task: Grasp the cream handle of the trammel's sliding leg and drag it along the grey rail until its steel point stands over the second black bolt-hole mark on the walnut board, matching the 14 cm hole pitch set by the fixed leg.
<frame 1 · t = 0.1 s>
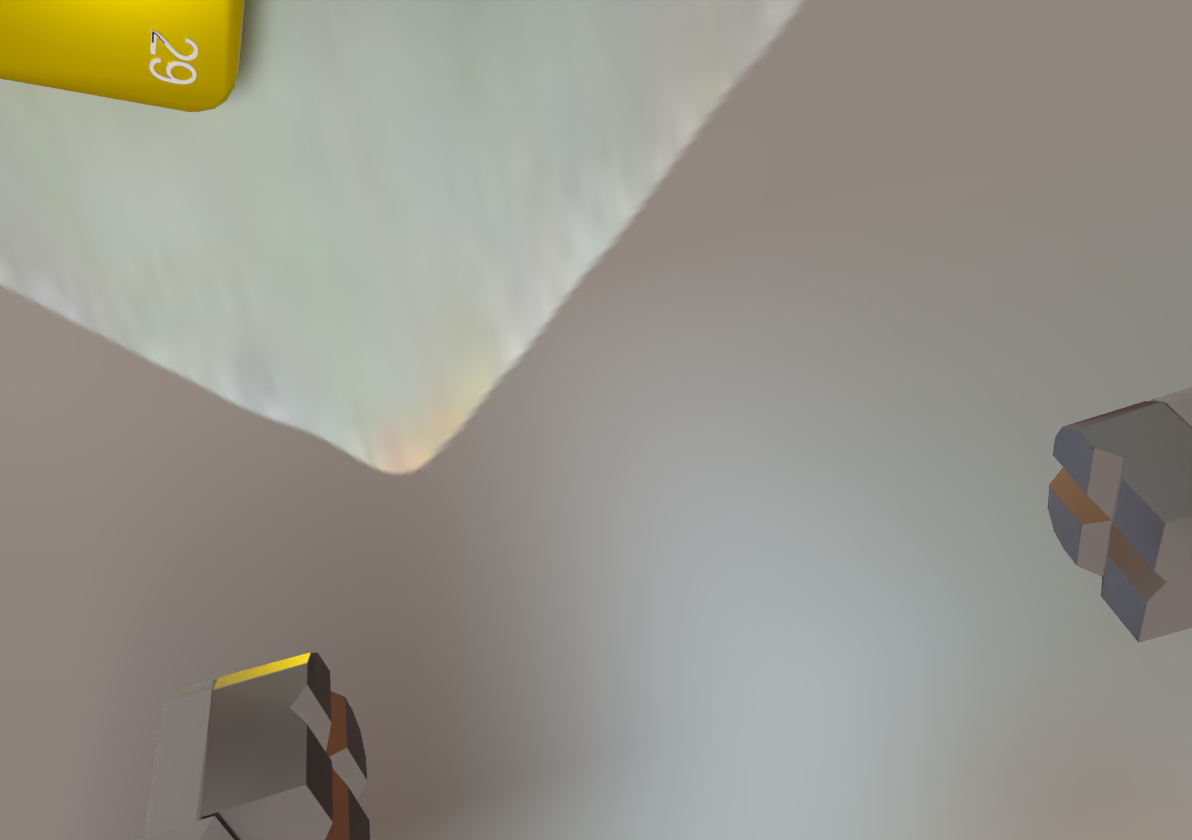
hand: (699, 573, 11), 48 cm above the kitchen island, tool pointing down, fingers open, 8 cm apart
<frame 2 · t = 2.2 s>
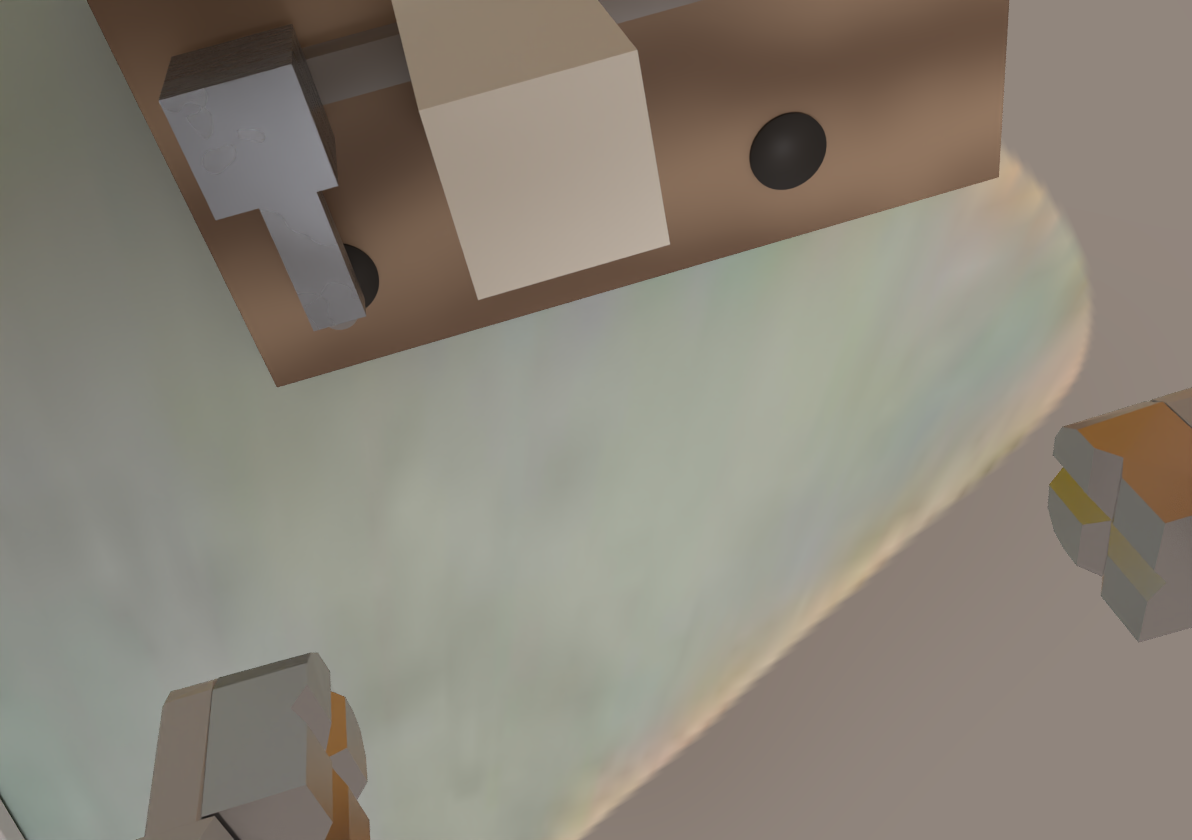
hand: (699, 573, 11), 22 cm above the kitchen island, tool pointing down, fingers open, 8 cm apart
fixed leg: (259, 66, 28), resting on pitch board
sliding leg: (533, 174, 25), point 7 cm above the kitchen island, slide at 0.0 cm
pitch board: (599, 83, 31), on the kitchen island
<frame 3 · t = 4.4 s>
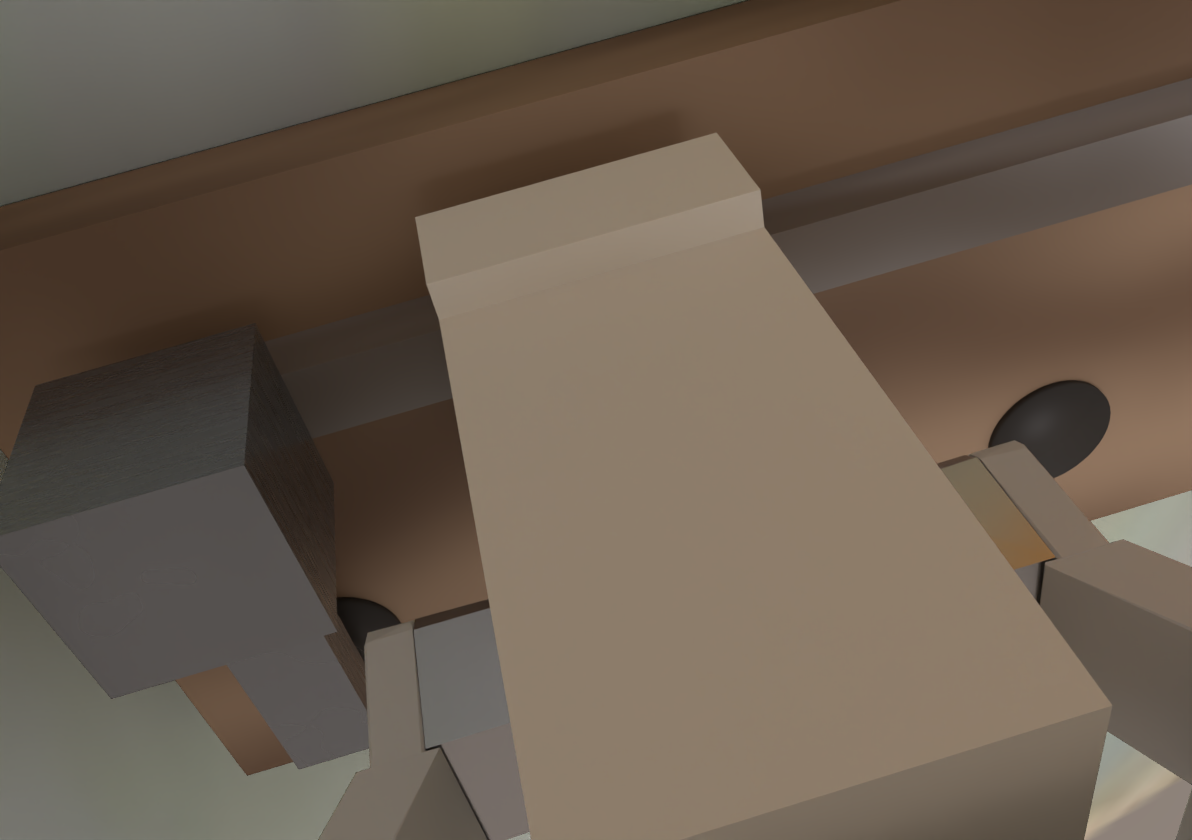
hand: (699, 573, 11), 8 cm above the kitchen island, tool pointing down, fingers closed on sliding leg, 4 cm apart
fixed leg: (208, 341, 17), resting on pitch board
sliding leg: (700, 628, 13), point 7 cm above the kitchen island, slide at 0.0 cm, touching gripper
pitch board: (758, 336, 19), on the kitchen island
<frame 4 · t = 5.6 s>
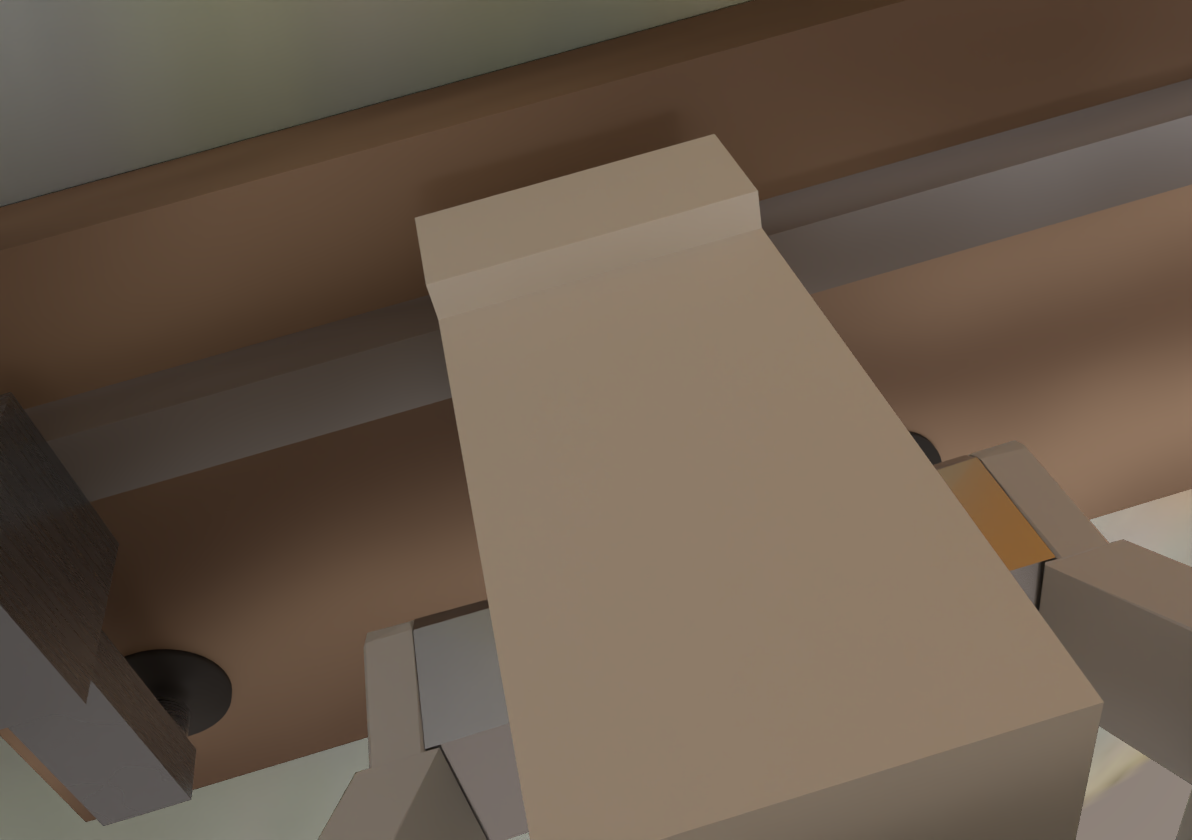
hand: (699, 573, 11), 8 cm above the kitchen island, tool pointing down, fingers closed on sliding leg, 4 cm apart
fixed leg: (4, 399, 17), resting on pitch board
sliding leg: (698, 626, 13), point 7 cm above the kitchen island, slide at 3.4 cm, touching gripper
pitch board: (581, 386, 19), on the kitchen island
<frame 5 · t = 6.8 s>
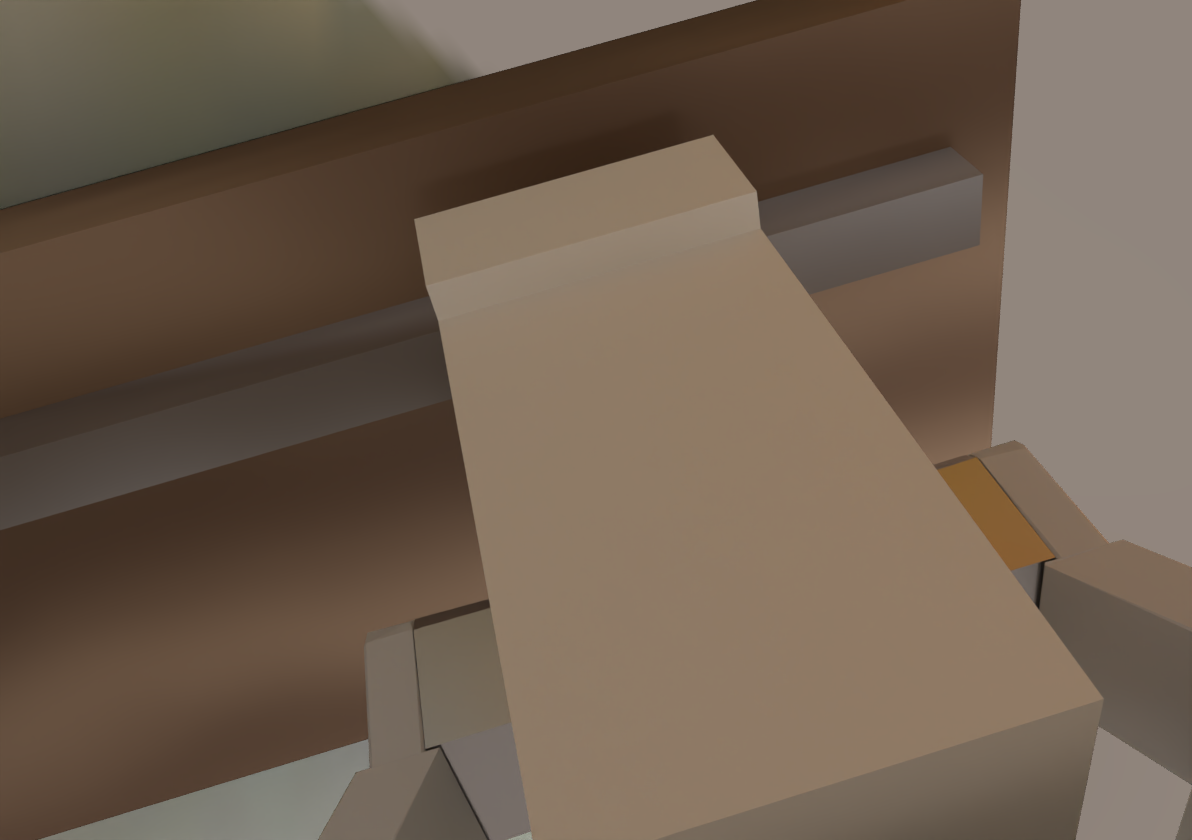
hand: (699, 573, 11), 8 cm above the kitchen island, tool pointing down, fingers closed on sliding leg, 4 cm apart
sliding leg: (698, 626, 13), point 7 cm above the kitchen island, slide at 8.0 cm, touching gripper
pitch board: (330, 461, 19), on the kitchen island
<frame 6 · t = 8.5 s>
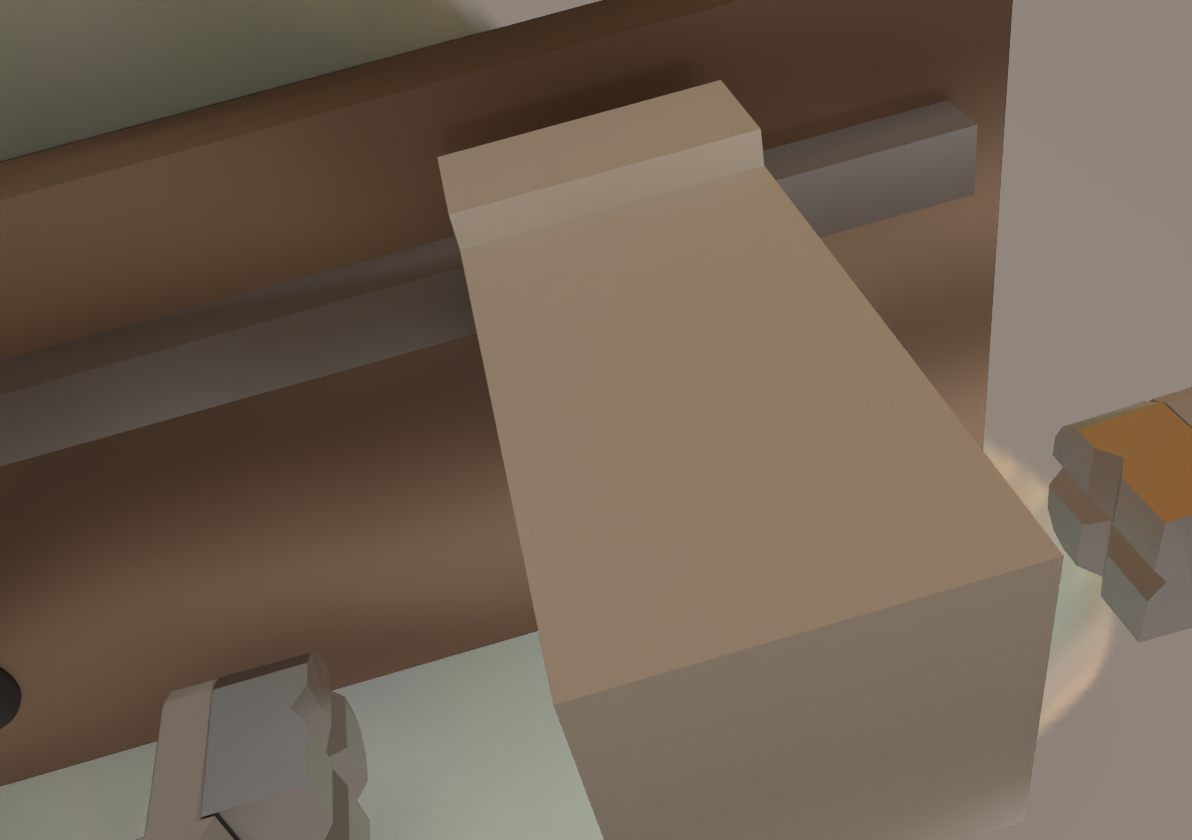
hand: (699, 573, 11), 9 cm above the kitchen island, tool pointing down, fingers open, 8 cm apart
sliding leg: (701, 544, 14), point 7 cm above the kitchen island, slide at 8.1 cm
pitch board: (350, 403, 20), on the kitchen island
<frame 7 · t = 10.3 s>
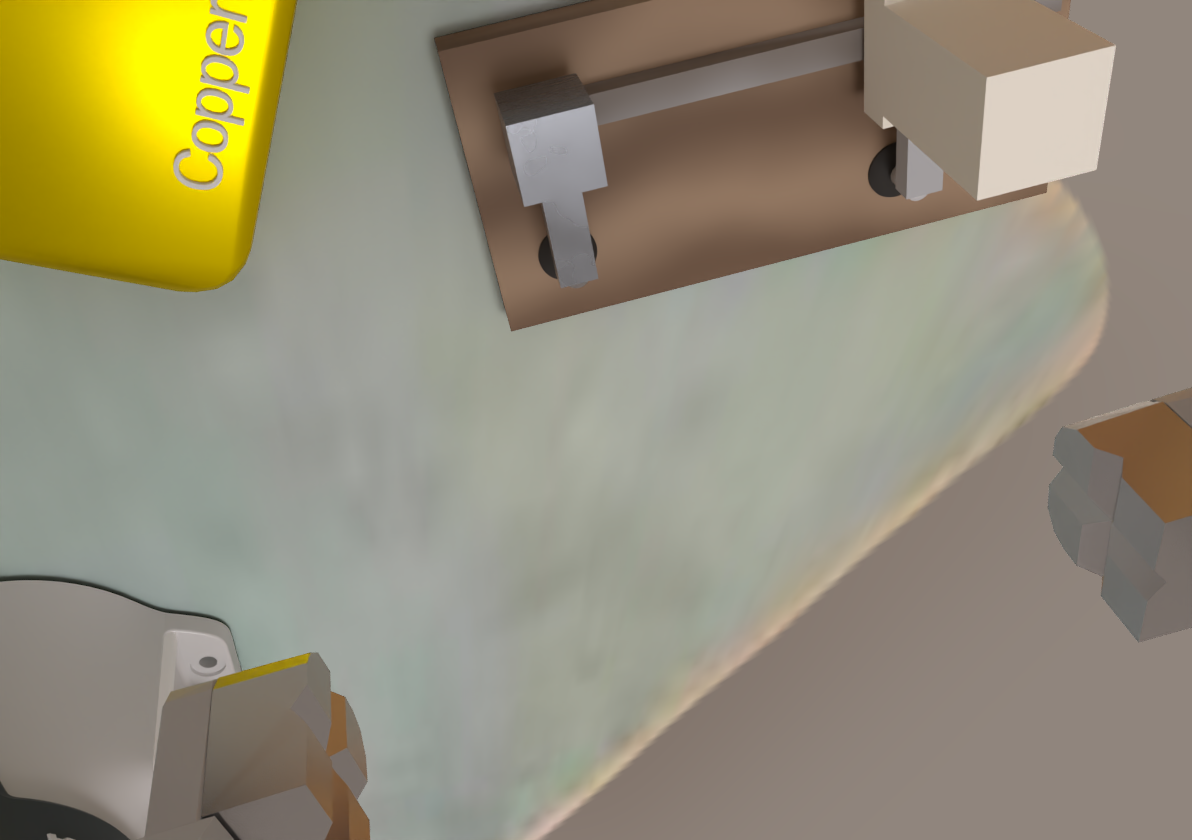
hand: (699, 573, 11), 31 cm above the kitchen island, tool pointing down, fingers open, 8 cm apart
element tile: (48, 5, 35), on the kitchen island
fixed leg: (531, 97, 40), resting on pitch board
sliding leg: (964, 126, 37), point 7 cm above the kitchen island, slide at 8.1 cm
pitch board: (763, 115, 42), on the kitchen island
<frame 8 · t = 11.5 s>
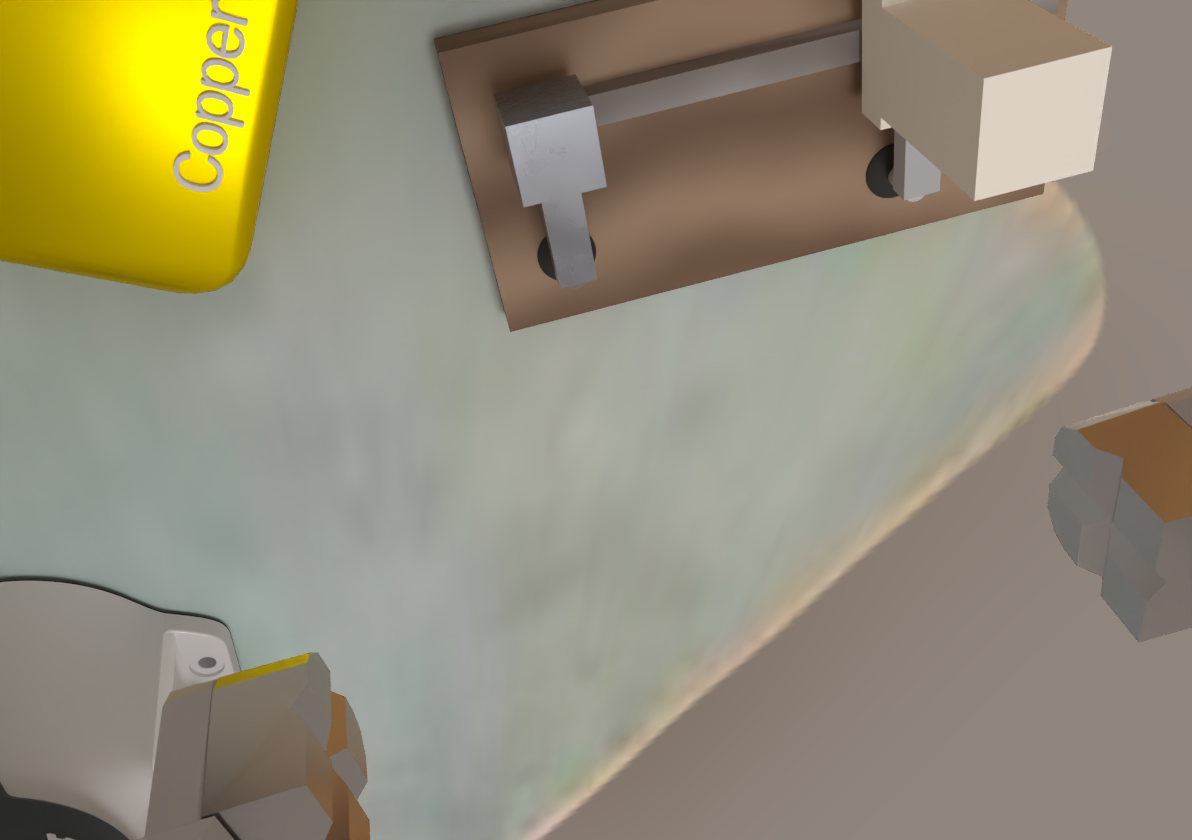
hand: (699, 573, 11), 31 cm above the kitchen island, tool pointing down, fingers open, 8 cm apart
element tile: (49, 7, 35), on the kitchen island
fixed leg: (531, 98, 40), resting on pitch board
sliding leg: (961, 128, 37), point 7 cm above the kitchen island, slide at 8.1 cm
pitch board: (761, 116, 42), on the kitchen island
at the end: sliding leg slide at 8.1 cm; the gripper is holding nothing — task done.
